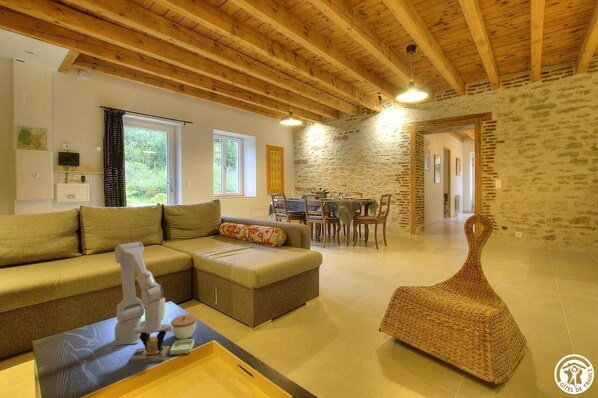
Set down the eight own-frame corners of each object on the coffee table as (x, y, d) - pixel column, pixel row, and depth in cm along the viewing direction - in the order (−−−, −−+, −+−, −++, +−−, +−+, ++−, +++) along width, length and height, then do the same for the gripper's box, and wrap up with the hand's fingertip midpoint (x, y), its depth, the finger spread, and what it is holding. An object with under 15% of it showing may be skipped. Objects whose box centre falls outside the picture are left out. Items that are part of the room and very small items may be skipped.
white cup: (154, 323, 147) (153, 304, 147) (145, 320, 151) (145, 301, 151) (168, 317, 154) (168, 299, 153) (160, 314, 158) (159, 296, 158)
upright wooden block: (147, 359, 116) (146, 342, 116) (151, 353, 120) (150, 337, 120) (157, 358, 116) (157, 341, 116) (161, 352, 120) (160, 336, 120)
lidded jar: (180, 344, 127) (179, 323, 126) (167, 337, 133) (166, 317, 133) (201, 334, 135) (201, 314, 135) (188, 328, 142) (187, 309, 141)
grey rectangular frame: (128, 363, 113) (128, 359, 113) (137, 352, 121) (137, 348, 121) (163, 360, 115) (163, 356, 115) (170, 349, 123) (170, 345, 123)
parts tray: (169, 354, 119) (169, 350, 119) (175, 344, 127) (175, 340, 127) (190, 353, 120) (190, 348, 120) (194, 343, 128) (194, 338, 128)
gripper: (129, 322, 113) (130, 356, 113) (168, 319, 115) (169, 353, 115) (137, 314, 120) (138, 347, 120) (174, 312, 122) (175, 344, 122)
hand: (154, 349), depth 118 cm, fingers closed on upright wooden block, 4 cm apart
